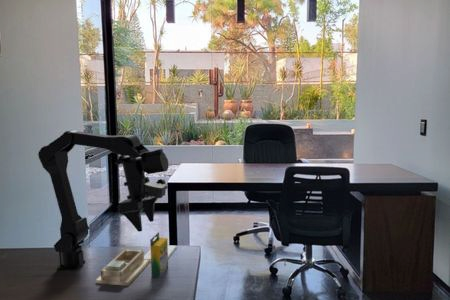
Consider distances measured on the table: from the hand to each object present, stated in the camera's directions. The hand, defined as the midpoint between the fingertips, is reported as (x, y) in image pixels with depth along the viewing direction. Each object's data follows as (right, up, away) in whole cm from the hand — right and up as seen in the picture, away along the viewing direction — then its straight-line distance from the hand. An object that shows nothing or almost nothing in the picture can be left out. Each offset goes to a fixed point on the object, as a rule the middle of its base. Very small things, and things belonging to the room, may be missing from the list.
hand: (146, 226), depth 124 cm
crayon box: (+4, -15, +1) cm, 15 cm away
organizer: (-7, -15, +1) cm, 16 cm away
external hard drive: (+2, -13, +15) cm, 20 cm away
